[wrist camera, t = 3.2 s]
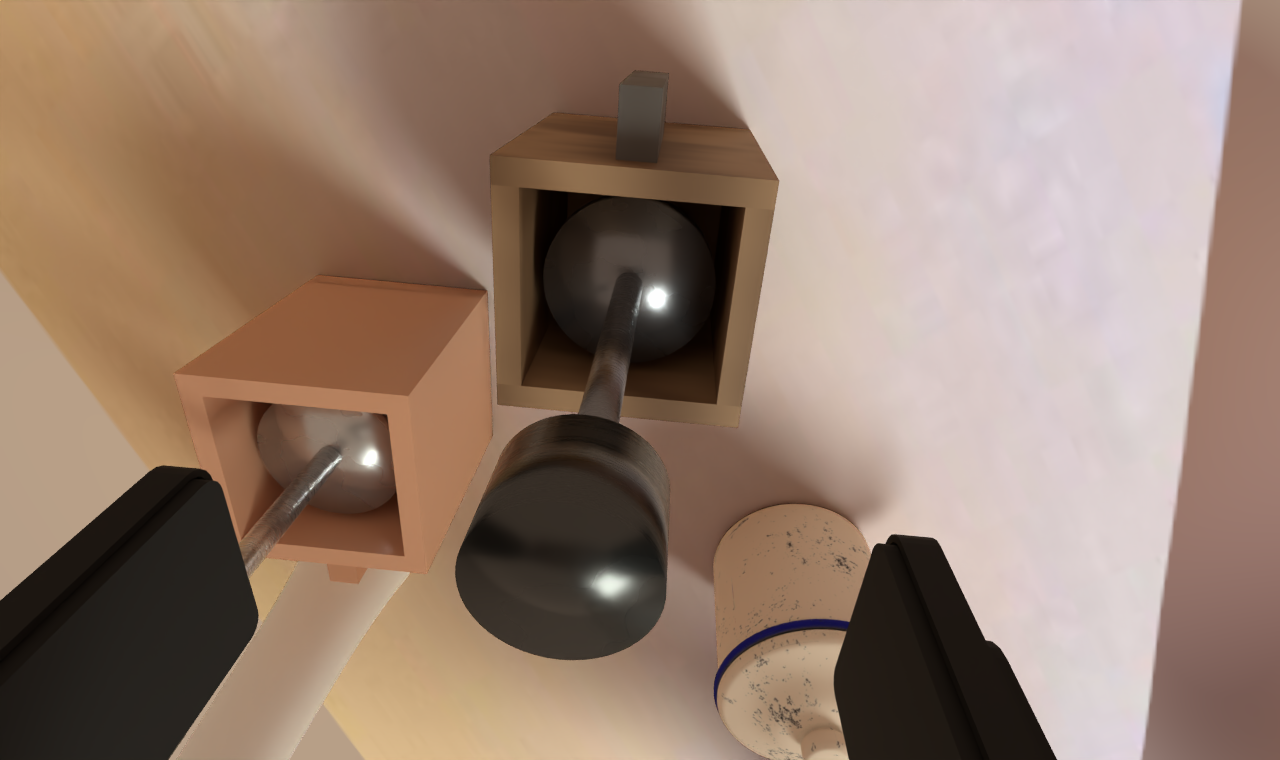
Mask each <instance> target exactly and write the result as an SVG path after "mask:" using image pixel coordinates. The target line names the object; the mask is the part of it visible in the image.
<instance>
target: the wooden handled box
mask: <svg viewBox="0 0 1280 760" xmlns="http://www.w3.org/2000/svg"><path fill="white" fill-rule="evenodd" d="M668 78H669V73H659V72H648V71H636V70H635V71H634V72H633V73H632V74H630V75H629V76H628V77H627V78H626V79H625V80H624V81H623V82H621V83H620V86H619V105H618V118H611V117H599V116H587V115H576V114H564V113H552V114H551V115H549V116H548V117H546V118H545V119H543V120H542V121H540V122H539V123H537V124H536V125H534V126H533V127H531V128H530V129H528V130H527V131H525V132H524V133H522V134H521V135H519V136H518V137H516V138H515V139H513V140H512V141H510V142H509V143H507V144H506V145H504V146H503V147H501V148H500V149H498V150H497V151H495V152H494V153H492V154H491V155H490V182H491V214H492V246H493V277H494V309H495V340H496V372H497V404H498V405H506V406H516V407H527V408H537V409H548V410H558V411H568V412H579V409H580V406H581V402H582V398H583V395H584V391H585V388H586V384H587V381H588V377H589V374H590V370H591V367H592V363H593V359H594V356H595V355H594V354H592V353H590V352H588V351H587V350H585V349H583V348H582V347H580V346H579V345H577V344H576V343H575V342H574V341H573V340H571V339H570V338H569V337H568V336H567V335H566V334H565V333H564V331H563V330H562V329H561V328H560V327H559V325H558V324H557V322H556V321H555V319H554V317H553V315H552V313H551V311H550V309H549V306H548V303H547V301H546V297H545V292H544V284H543V272H544V264H545V259H546V255H547V253H548V250H549V247H550V245H551V243H552V241H553V239H554V238H555V236H556V234H557V233H558V231H559V229H560V228H561V227H562V225H563V224H564V223H565V221H566V220H567V219H568V218H569V217H570V216H571V215H572V214H573V213H574V212H575V211H577V210H578V209H579V208H581V207H582V206H583V205H585V204H587V203H589V202H590V201H592V200H595V199H597V198H600V197H602V196H606V195H611V196H623V197H634V198H645V199H656V200H666V201H668V202H670V203H672V204H673V205H675V206H677V207H678V208H680V209H681V210H682V211H683V212H685V213H686V214H687V215H688V216H689V217H690V218H691V219H692V220H693V221H694V222H695V223H696V224H697V226H698V227H699V228H700V230H701V231H702V233H703V234H704V236H705V238H706V240H707V242H708V244H709V247H710V250H711V252H712V256H713V261H714V268H715V279H716V286H715V296H714V301H713V305H712V308H711V311H710V313H709V316H708V317H707V319H706V321H705V323H704V325H703V326H702V328H701V329H700V330H699V332H698V333H697V334H696V335H695V336H694V337H693V338H692V339H691V340H690V341H689V342H688V343H687V344H685V345H684V346H683V347H681V348H680V349H678V350H677V351H675V352H673V353H671V354H669V355H667V356H665V357H662V358H659V359H656V360H652V361H647V362H637V363H629V368H628V374H627V380H626V386H625V392H624V397H623V403H622V409H621V415H620V417H631V418H641V419H652V420H662V421H672V422H683V423H693V424H704V425H714V426H724V427H735V428H738V424H739V418H740V412H741V406H742V400H743V394H744V388H745V382H746V376H747V370H748V364H749V358H750V352H751V346H752V340H753V334H754V328H755V322H756V316H757V310H758V304H759V298H760V292H761V287H762V281H763V275H764V269H765V263H766V257H767V251H768V245H769V239H770V233H771V227H772V221H773V215H774V209H775V203H776V197H777V191H778V185H779V180H778V178H777V176H776V174H775V173H774V171H773V169H772V167H771V166H770V164H769V162H768V160H767V159H766V157H765V155H764V153H763V152H762V150H761V148H760V146H759V145H758V143H757V141H756V139H755V138H754V136H753V134H752V132H751V131H750V130H749V129H738V128H726V127H715V126H703V125H692V124H680V123H668V122H665V113H666V101H667V89H668Z"/></svg>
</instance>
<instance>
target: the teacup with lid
mask: <svg viewBox="0 0 1280 760" xmlns="http://www.w3.org/2000/svg"><path fill="white" fill-rule="evenodd" d="M870 557H871V553H870V550H869V547H868V545H867V542H866V540H865V539H864V537H863V535H862V534H861V533H860V531H859V530H858V529H857V528H856V527H855V526H854V525H853V524H852V523H851V522H849V521H848V520H847V519H845V518H844V517H842V516H841V515H839V514H837V513H835V512H833V511H830V510H828V509H825V508H821V507H817V506H813V505H806V504H784V505H777V506H772V507H768V508H765V509H762V510H759V511H756V512H754V513H752V514H750V515H748V516H746V517H744V518H743V519H741V520H740V521H738V522H737V523H736V524H735V525H733V526H732V527H731V528H730V529H729V530H728V532H727V533H726V534H725V535H724V537H723V538H722V540H721V541H720V543H719V545H718V547H717V550H716V552H715V557H714V564H713V572H714V594H715V615H716V637H717V659H718V671H717V674H716V677H715V681H714V699H715V704H716V707H717V710H718V712H719V714H720V717H721V719H722V721H723V723H724V724H725V726H726V727H727V729H728V730H729V731H730V733H731V734H732V735H733V736H734V737H735V738H736V739H737V740H738V741H739V742H740V743H741V744H743V745H744V746H745V747H747V748H748V749H750V750H751V751H753V752H755V753H757V754H759V755H761V756H763V757H765V758H768V759H771V760H849V758H848V753H847V749H846V744H845V740H844V735H843V731H842V726H841V721H840V717H839V712H838V708H837V703H836V699H835V693H834V670H835V666H836V663H837V660H838V656H839V653H840V650H841V647H842V644H843V641H844V638H845V635H846V632H847V628H848V625H849V622H850V619H851V616H852V613H853V610H854V607H855V604H856V600H857V597H858V594H859V591H860V588H861V585H862V582H863V579H864V576H865V572H866V569H867V566H868V563H869V560H870Z"/></svg>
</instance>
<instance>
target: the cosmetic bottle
mask: <svg viewBox="0 0 1280 760" xmlns="http://www.w3.org/2000/svg"><path fill="white" fill-rule="evenodd" d="M409 574H410V572H402V571H392V570H382V569H372V568H368V569H367V570H366V572H365V574H364V575H363V577H362V579H361V580H360V582H359V584H353V583H343V582H333V581H330V578H329V573H328V568H327V564H323V563H313V562H304V561H298V562H297V564H296V566H295V567H294V569H293V571H292V573H291V575H290V577H289V579H288V581H287V582H286V584H285V586H284V588H283V590H282V591H281V593H280V595H279V597H278V598H277V600H276V602H275V603H274V605H273V607H272V609H271V610H270V612H269V614H268V615H267V617H266V619H265V620H264V622H263V623H262V625H261V627H260V629H259V630H258V632H257V633H256V635H255V636H254V638H253V640H252V641H251V643H250V644H249V646H248V648H247V649H246V651H245V652H244V654H243V655H242V657H241V659H240V660H239V662H238V663H237V665H236V666H235V668H234V670H233V671H232V673H231V674H230V676H229V678H228V679H227V681H226V682H225V684H224V685H223V687H222V688H221V690H220V691H219V693H218V695H217V696H216V698H215V699H214V701H213V703H212V704H211V705H210V707H209V709H208V710H207V712H206V713H205V715H204V716H203V718H202V720H201V721H200V723H199V724H198V726H197V727H196V729H195V731H194V732H193V734H192V735H191V737H190V738H189V740H188V742H187V743H186V745H185V746H184V748H183V750H182V751H181V753H180V754H179V756H178V757H177V759H176V760H289V759H290V758H291V756H292V754H293V752H294V751H295V749H296V747H297V746H298V744H299V742H300V741H301V739H302V737H303V736H304V734H305V732H306V731H307V729H308V727H309V725H310V724H311V722H312V720H313V719H314V717H315V715H316V714H317V712H318V710H319V708H320V707H321V705H322V703H323V702H324V700H325V698H326V697H327V695H328V693H329V692H330V690H331V688H332V687H333V685H334V683H335V682H336V680H337V679H338V677H339V675H340V674H341V672H342V670H343V669H344V667H345V665H346V664H347V662H348V661H349V659H350V657H351V656H352V654H353V653H354V651H355V649H356V648H357V646H358V645H359V643H360V642H361V640H362V639H363V637H364V635H365V634H366V632H367V631H368V629H369V628H370V626H371V625H372V623H373V622H374V621H375V619H376V618H377V616H378V615H379V613H380V612H381V611H382V609H383V608H384V606H385V605H386V604H387V602H388V601H389V600H390V598H391V597H392V596H393V594H394V593H395V592H396V591H397V589H398V588H399V587H400V586H401V584H402V583H403V582H404V581H405V580H406V578H407V577H408V575H409Z"/></svg>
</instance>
